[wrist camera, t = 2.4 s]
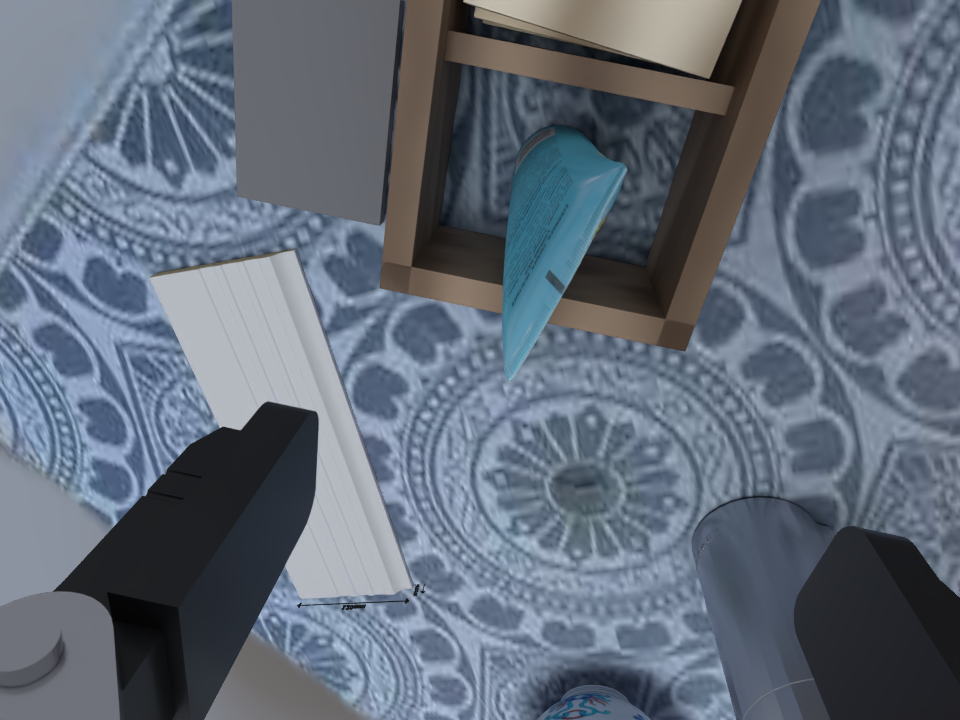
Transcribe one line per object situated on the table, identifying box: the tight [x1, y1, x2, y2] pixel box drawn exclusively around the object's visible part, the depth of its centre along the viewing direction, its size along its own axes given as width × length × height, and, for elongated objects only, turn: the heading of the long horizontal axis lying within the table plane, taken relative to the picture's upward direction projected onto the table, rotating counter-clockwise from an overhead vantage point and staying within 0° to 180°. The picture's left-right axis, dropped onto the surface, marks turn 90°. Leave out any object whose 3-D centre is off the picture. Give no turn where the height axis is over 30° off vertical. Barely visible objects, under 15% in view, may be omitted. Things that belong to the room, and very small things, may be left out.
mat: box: [232, 0, 405, 226], centre depth 34 cm, size 9×12×1 cm
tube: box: [502, 125, 627, 381], centre depth 26 cm, size 7×5×19 cm, turn 161°
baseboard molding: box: [149, 249, 425, 610], centre depth 46 cm, size 31×3×12 cm
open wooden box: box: [380, 0, 821, 351], centre depth 29 cm, size 16×20×8 cm
